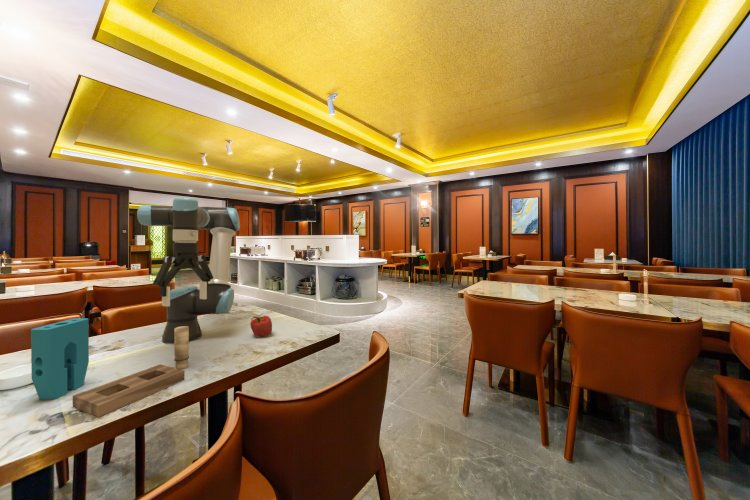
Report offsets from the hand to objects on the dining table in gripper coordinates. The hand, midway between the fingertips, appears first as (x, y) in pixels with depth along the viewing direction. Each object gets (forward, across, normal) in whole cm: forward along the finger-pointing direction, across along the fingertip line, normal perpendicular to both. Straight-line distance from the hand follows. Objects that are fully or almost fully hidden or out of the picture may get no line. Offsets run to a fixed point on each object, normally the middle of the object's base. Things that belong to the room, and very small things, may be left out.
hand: (185, 302), depth 103 cm
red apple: (+23, +37, 0) cm, 44 cm away
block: (+23, -26, +16) cm, 38 cm away
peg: (+23, -1, +1) cm, 23 cm away
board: (+23, -18, -3) cm, 29 cm away
